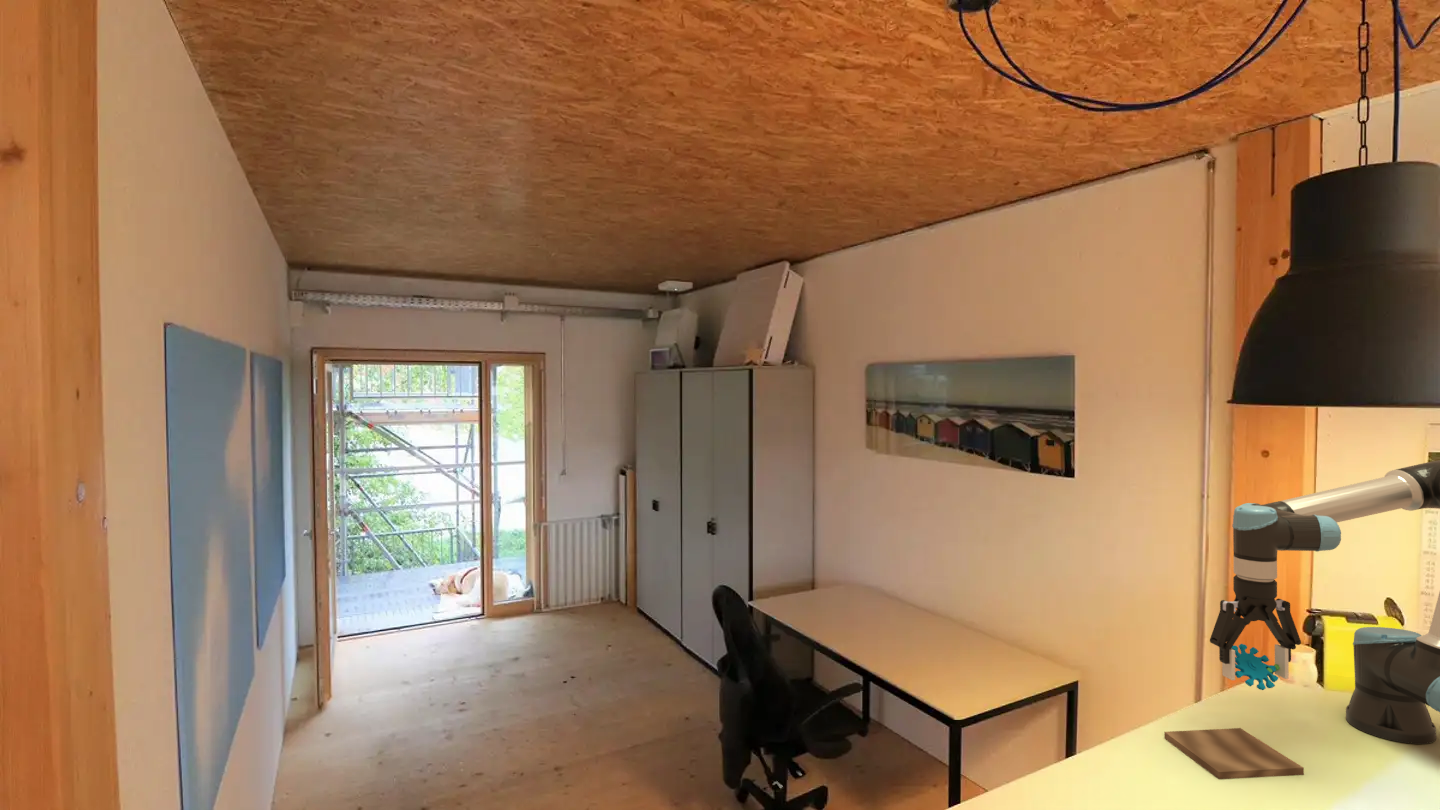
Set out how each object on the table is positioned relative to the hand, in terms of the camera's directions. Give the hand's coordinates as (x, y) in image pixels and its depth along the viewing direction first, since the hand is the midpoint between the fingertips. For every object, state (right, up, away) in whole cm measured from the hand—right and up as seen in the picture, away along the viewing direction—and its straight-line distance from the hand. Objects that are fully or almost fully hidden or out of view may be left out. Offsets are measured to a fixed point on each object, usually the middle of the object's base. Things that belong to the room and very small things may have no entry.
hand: (1255, 677), depth 150 cm
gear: (0, -2, 0) cm, 2 cm away
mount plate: (-4, -18, +2) cm, 19 cm away
